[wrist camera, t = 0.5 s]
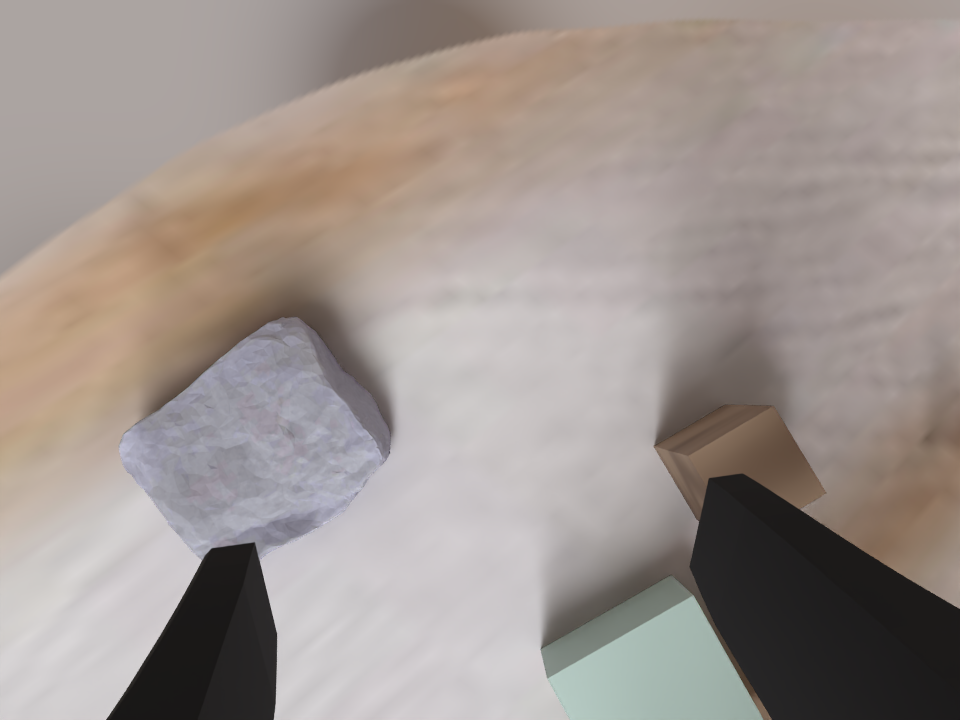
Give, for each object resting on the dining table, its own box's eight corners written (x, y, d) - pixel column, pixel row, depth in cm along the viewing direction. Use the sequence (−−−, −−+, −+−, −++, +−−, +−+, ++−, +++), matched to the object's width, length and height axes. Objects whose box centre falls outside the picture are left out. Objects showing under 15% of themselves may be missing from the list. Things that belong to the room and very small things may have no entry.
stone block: (414, 437, 38) (297, 300, 36) (413, 460, 33) (279, 304, 31) (251, 568, 38) (128, 436, 36) (228, 610, 33) (85, 460, 32)
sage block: (745, 707, 35) (779, 747, 31) (614, 783, 35) (631, 832, 31) (669, 573, 36) (693, 595, 32) (540, 647, 35) (547, 678, 31)
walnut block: (768, 477, 36) (826, 493, 30) (696, 519, 35) (740, 544, 30) (725, 404, 36) (773, 405, 30) (653, 446, 36) (688, 455, 30)
